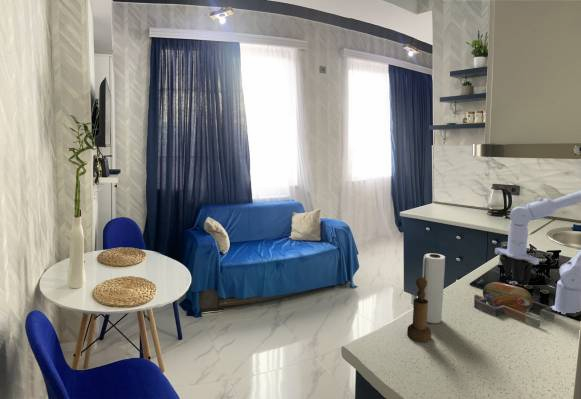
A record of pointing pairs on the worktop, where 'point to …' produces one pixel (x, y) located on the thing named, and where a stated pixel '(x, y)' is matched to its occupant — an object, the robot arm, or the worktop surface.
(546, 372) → the worktop surface
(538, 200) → the robot arm
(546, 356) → the worktop surface
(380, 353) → the worktop surface
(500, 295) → the tin
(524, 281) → the cup
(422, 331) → the mortar and pestle
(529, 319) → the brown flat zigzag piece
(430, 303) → the paper towel roll
